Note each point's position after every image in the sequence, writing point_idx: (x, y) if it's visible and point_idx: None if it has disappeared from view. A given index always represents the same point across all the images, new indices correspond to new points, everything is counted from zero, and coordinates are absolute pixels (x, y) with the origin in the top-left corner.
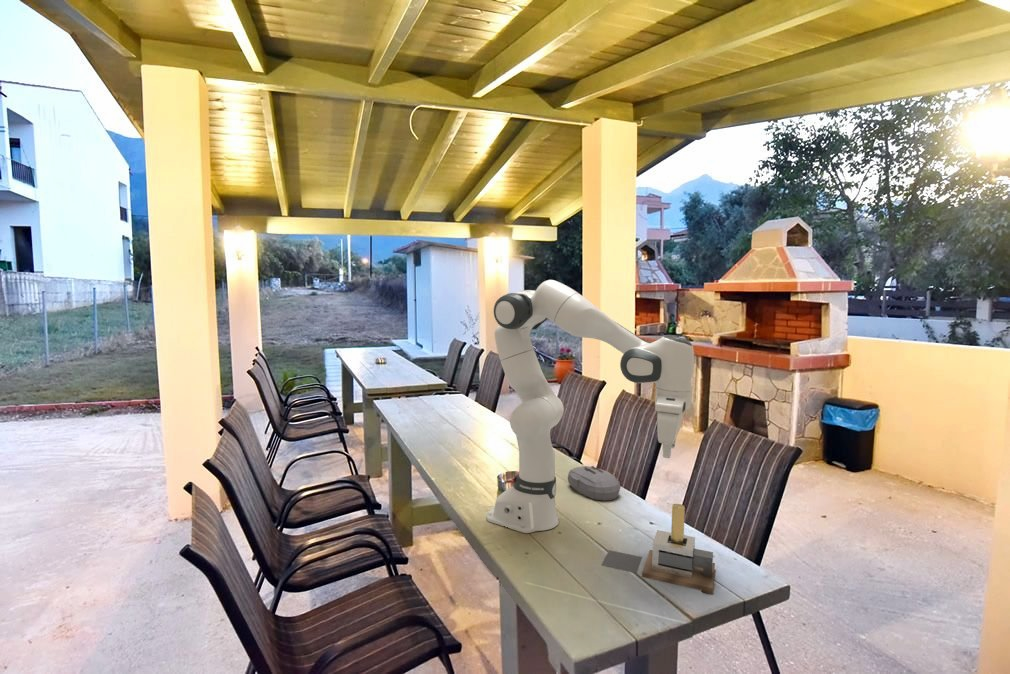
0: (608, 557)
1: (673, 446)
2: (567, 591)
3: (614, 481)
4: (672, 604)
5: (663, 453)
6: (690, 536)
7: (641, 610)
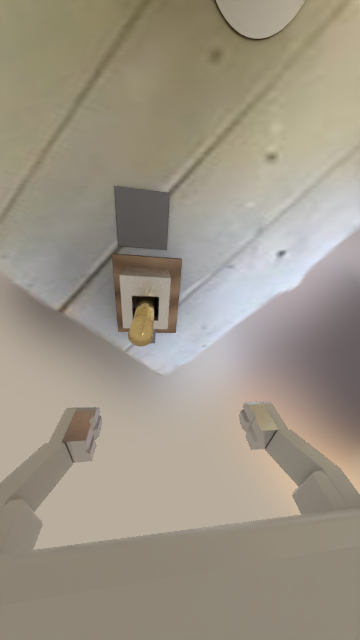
0: (144, 195)
1: (243, 423)
2: (5, 132)
3: None
4: (75, 292)
5: (58, 426)
6: (167, 323)
7: (38, 259)
